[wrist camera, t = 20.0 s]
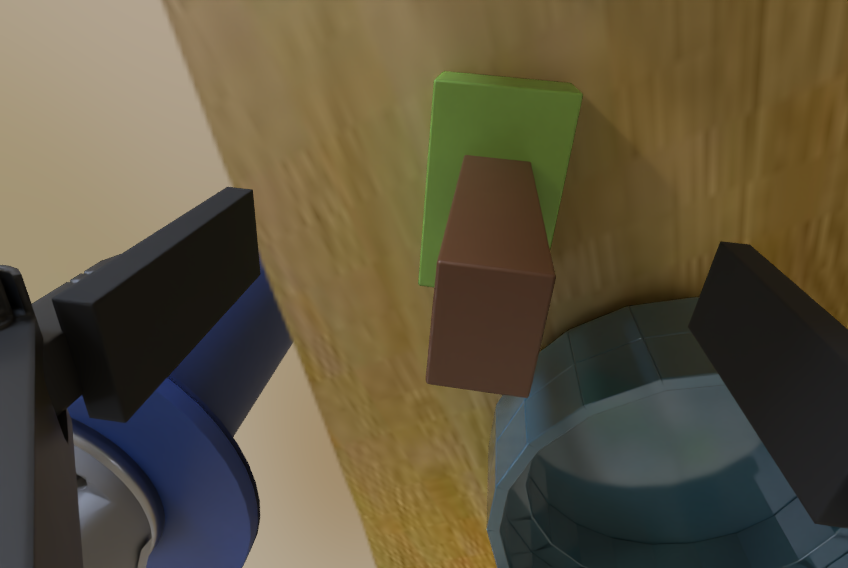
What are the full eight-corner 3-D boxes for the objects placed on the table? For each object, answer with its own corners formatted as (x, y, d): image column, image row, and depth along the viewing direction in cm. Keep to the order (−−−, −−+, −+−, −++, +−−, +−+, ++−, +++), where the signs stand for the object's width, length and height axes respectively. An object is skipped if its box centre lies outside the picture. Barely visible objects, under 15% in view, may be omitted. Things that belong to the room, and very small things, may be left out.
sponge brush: (534, 269, 23) (565, 481, 12) (427, 256, 23) (367, 450, 13) (572, 82, 19) (660, 162, 9) (442, 70, 20) (376, 132, 9)
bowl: (472, 523, 32) (467, 623, 26) (519, 265, 23) (525, 339, 18) (773, 573, 30) (831, 690, 25) (945, 318, 22) (1089, 415, 16)
